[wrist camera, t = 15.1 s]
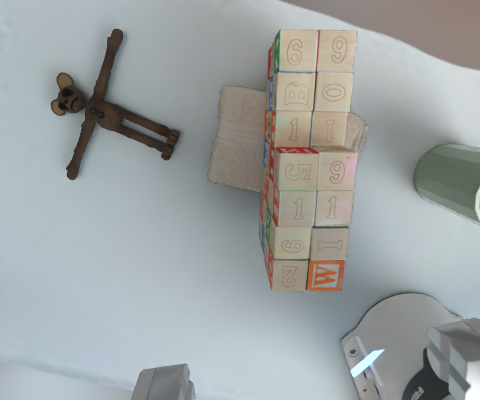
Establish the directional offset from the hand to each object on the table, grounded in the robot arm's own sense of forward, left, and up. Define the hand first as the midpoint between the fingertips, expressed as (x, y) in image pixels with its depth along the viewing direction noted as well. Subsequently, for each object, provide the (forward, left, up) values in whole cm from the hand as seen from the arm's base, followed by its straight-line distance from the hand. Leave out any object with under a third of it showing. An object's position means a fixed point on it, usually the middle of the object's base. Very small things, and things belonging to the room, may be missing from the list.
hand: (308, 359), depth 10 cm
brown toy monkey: (+10, +14, -30) cm, 35 cm away
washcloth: (+3, -5, -30) cm, 31 cm away
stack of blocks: (+3, -5, -27) cm, 28 cm away
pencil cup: (-4, -25, -30) cm, 39 cm away
